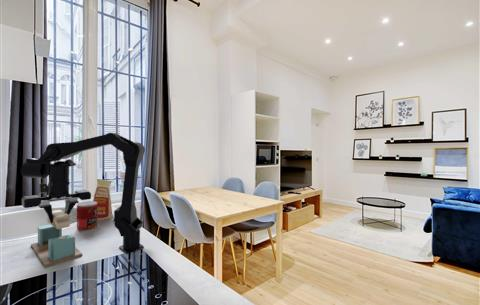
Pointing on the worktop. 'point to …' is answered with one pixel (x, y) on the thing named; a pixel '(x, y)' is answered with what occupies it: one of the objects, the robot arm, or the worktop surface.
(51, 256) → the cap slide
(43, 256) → the board
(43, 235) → the cap fixed
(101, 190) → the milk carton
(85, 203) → the canned food
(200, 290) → the worktop surface
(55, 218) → the wooden block
